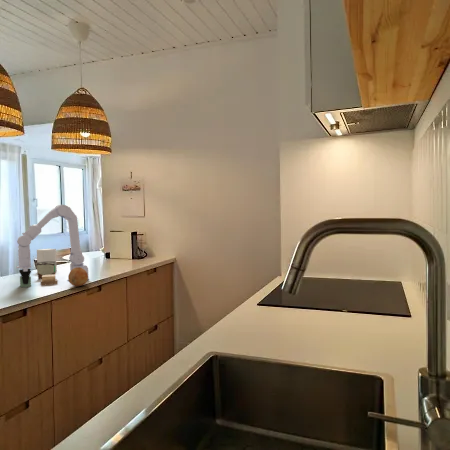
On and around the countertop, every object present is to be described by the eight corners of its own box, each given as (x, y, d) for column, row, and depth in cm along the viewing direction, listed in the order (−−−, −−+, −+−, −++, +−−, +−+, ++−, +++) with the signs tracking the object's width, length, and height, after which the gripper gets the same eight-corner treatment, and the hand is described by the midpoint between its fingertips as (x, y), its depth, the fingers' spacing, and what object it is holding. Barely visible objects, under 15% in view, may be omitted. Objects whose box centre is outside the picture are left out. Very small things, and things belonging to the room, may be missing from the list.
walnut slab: (57, 285, 213) (57, 280, 213) (41, 286, 210) (41, 281, 210) (56, 282, 220) (56, 278, 220) (40, 284, 217) (40, 279, 217)
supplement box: (57, 271, 262) (56, 248, 261) (44, 272, 255) (43, 250, 254) (50, 270, 267) (49, 248, 267) (37, 271, 260) (36, 249, 260)
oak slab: (55, 280, 213) (55, 276, 213) (42, 281, 211) (41, 276, 211) (55, 278, 219) (55, 274, 219) (42, 279, 217) (42, 275, 217)
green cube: (31, 286, 208) (30, 276, 208) (20, 287, 206) (20, 277, 206) (30, 284, 213) (30, 275, 213) (20, 285, 210) (19, 276, 210)
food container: (61, 277, 235) (60, 261, 234) (55, 279, 229) (55, 262, 228) (41, 277, 236) (41, 261, 236) (35, 279, 230) (35, 262, 230)
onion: (90, 284, 211) (90, 265, 210) (84, 287, 201) (84, 268, 200) (72, 284, 210) (72, 266, 210) (65, 288, 200) (65, 268, 200)
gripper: (15, 257, 213) (16, 282, 214) (16, 259, 201) (17, 286, 201) (30, 256, 217) (31, 280, 217) (31, 258, 204) (32, 284, 204)
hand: (25, 283), depth 209 cm, fingers closed on green cube, 5 cm apart
